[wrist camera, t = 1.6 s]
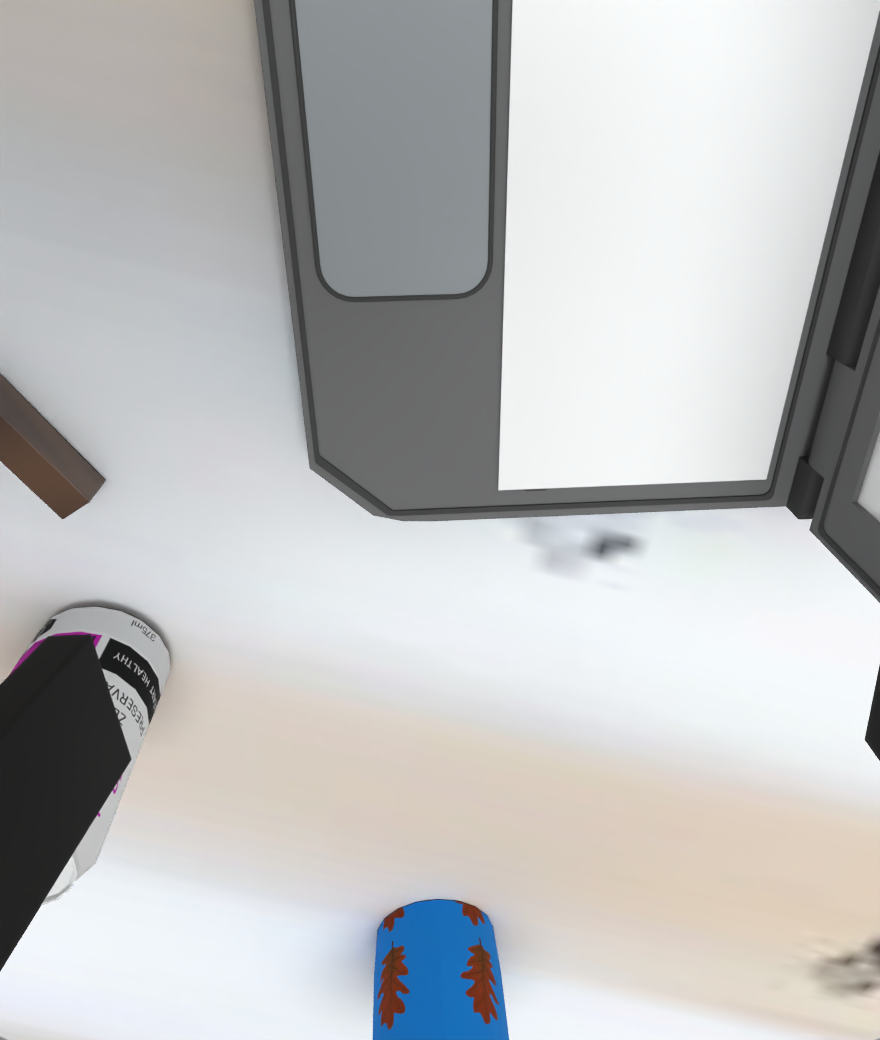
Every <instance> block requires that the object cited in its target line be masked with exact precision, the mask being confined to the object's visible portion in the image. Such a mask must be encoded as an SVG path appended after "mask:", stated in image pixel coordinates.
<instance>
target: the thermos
mask: <svg viewBox="0 0 880 1040" xmlns="http://www.w3.org/2000/svg"><path fill="white" fill-rule="evenodd" d="M373 1040H509V1035H508V1027H507V1019H506V1011H505V1002H504V994H503V986H502V978H501V970H500V964H499V959H498V953H497V947H496V942H495V936H494V930H493V926H492V924H491V922H490V920H489V918H488V916H487V915H486V914H484V913H483V912H482V911H480V910H479V909H478V908H476V907H475V906H471V905H468V904H465V903H462V902H459V901H450V900H430V901H422V902H416V903H413V904H411V905H408V906H405V907H402V908H400V909H398V910H396V911H395V912H393V913H392V914H391V915H389V916H388V917H386V918H385V919H384V921H383V922H382V924H381V925H380V927H379V929H378V932H377V945H376V958H375V972H374V1007H373Z"/></svg>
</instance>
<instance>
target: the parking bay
mask: <svg viewBox="0 0 880 1040" xmlns="http://www.w3.org/2000/svg"><path fill="white" fill-rule="evenodd" d="M0 461H1V462H2V463H3V464H4V465H5V466H6V467H7V468H8V469H10V470H11V471H12V472H13V473H14V474H15V475H16V476H17V477H18V478H19V479H20V480H21V481H22V482H23V483H24V484H25V485H27V486H28V487H29V488H30V489H31V490H32V491H33V492H34V493H35V494H36V495H37V496H38V497H39V498H40V499H41V500H42V501H44V502H45V503H46V504H47V505H48V506H49V507H50V508H51V509H52V510H53V511H54V512H55V513H56V514H57V515H58V516H59V517H61V518H62V519H64V518H66V517H67V516H69V515H70V514H72V513H73V512H75V511H76V510H78V509H80V508H81V507H83V506H84V505H86V504H87V503H89V502H90V501H91V499H92V498H93V497H94V495H95V494H96V493H97V491H98V490H99V489H100V487H101V486H102V485H103V483H104V482H105V479H104V478H103V477H102V476H101V475H100V474H99V473H98V472H97V471H96V470H95V469H94V468H93V467H92V466H91V465H90V464H89V463H88V462H87V461H86V460H85V459H84V458H83V457H82V456H81V455H80V454H79V453H78V452H77V451H76V450H75V449H74V448H73V447H72V446H71V445H70V444H69V443H68V442H67V441H66V440H65V439H64V438H63V437H62V436H61V435H60V434H59V433H58V432H57V431H56V430H55V429H54V428H53V427H52V426H51V425H50V424H49V422H48V421H47V420H46V419H45V418H44V417H43V416H42V415H41V414H40V413H39V412H38V411H37V410H36V409H35V408H34V407H33V406H32V405H31V404H30V403H29V402H28V401H27V400H26V399H25V398H24V397H23V396H22V395H21V394H20V393H19V392H18V391H17V390H16V389H15V388H14V387H13V386H12V385H11V384H10V383H9V382H8V381H7V380H6V379H5V378H4V377H3V376H2V375H1V374H0Z"/></svg>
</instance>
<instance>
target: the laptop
mask: <svg viewBox="0 0 880 1040" xmlns="http://www.w3.org/2000/svg"><path fill="white" fill-rule="evenodd" d="M254 5H255V13H256V22H257V30H258V38H259V47H260V55H261V63H262V72H263V80H264V89H265V97H266V105H267V114H268V122H269V130H270V139H271V147H272V156H273V164H274V172H275V181H276V189H277V197H278V206H279V214H280V223H281V231H282V239H283V248H284V256H285V264H286V273H287V281H288V290H289V298H290V306H291V315H292V323H293V332H294V340H295V348H296V357H297V365H298V373H299V382H300V390H301V399H302V407H303V415H304V424H305V432H306V440H307V449H308V457H309V466H310V469H312V470H313V471H314V472H316V473H317V474H318V475H320V476H321V477H322V478H324V479H325V480H326V481H328V482H329V483H330V484H332V485H333V486H334V487H336V488H337V489H339V490H340V491H341V492H343V493H344V494H345V495H347V496H348V497H349V498H351V499H352V500H353V501H355V502H356V503H357V504H359V505H360V506H362V507H363V508H364V509H366V510H367V511H368V512H370V513H371V514H372V515H374V516H380V517H385V518H390V519H395V520H400V521H448V520H472V519H496V518H519V517H543V516H567V515H590V514H614V513H638V512H661V511H685V510H709V509H732V508H756V507H780V506H786V507H787V508H788V509H789V510H790V511H791V512H792V513H793V514H794V515H795V516H796V517H797V518H798V519H812V523H811V526H810V531H811V532H812V533H813V534H814V535H815V536H816V537H817V538H818V539H819V540H820V541H821V542H822V543H823V545H824V546H825V547H826V548H827V549H828V550H829V551H830V552H831V553H832V554H833V555H834V556H835V557H836V558H837V559H838V560H839V561H840V562H841V563H842V564H843V565H844V566H845V567H846V568H847V569H848V570H849V571H850V572H851V574H852V575H853V576H854V577H855V578H856V579H857V580H858V581H859V582H860V583H861V584H862V585H863V586H864V587H865V588H866V589H867V590H868V591H869V592H870V593H871V594H872V595H873V596H874V597H875V598H876V599H877V600H878V601H879V602H880V0H254Z"/></svg>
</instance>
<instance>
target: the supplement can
mask: <svg viewBox="0 0 880 1040" xmlns="http://www.w3.org/2000/svg"><path fill="white" fill-rule="evenodd" d="M85 634H91V636H92V639H93V642H94V645H95V648H96V651H97V654H98V658H99V661H100V664H101V667H102V670H103V673H104V676H105V679H106V682H107V685H108V688H109V691H110V694H111V697H112V700H113V703H114V707H115V710H116V713H117V716H118V719H119V722H120V725H121V728H122V731H123V734H124V737H125V740H126V743H127V746H128V749H129V752H130V755H131V759H132V760H131V761H130V763H129V765H128V766H127V768H126V769H125V771H124V773H123V774H122V776H121V777H120V779H119V781H118V782H117V784H116V785H115V787H114V789H113V790H112V792H111V794H110V795H109V797H108V798H107V800H106V802H105V803H104V805H103V806H102V808H101V810H100V811H99V813H98V815H97V816H96V818H95V819H94V821H93V823H92V824H91V826H90V827H89V829H88V831H87V832H86V834H85V835H84V837H83V839H82V840H81V842H80V844H79V845H78V847H77V848H76V850H75V852H74V853H73V855H72V856H71V858H70V860H69V861H68V863H67V864H66V866H65V868H64V869H63V871H62V873H61V874H60V876H59V877H58V879H57V881H56V882H55V884H54V885H53V887H52V889H51V890H50V892H49V893H48V895H47V897H46V898H45V900H44V902H43V903H42V905H44V904H47V903H49V902H52V901H55V900H58V899H59V898H60V897H61V896H63V895H64V894H65V893H66V892H68V891H69V890H70V889H71V888H72V886H73V884H74V882H75V881H76V880H77V879H78V878H79V877H81V876H82V875H83V874H84V873H85V872H86V871H87V870H89V869H90V868H91V867H92V866H93V865H94V864H95V863H96V861H97V858H98V856H99V853H100V851H101V848H102V846H103V843H104V841H105V838H106V835H107V833H108V830H109V828H110V825H111V823H112V820H113V817H114V815H115V812H116V810H117V807H118V804H119V802H120V799H121V797H122V794H123V792H124V789H125V786H126V784H127V781H128V779H129V776H130V773H131V771H132V768H133V766H134V763H135V761H136V758H137V755H138V753H139V750H140V748H141V745H142V742H143V740H144V737H145V735H146V732H147V730H148V727H149V724H150V722H151V719H152V717H153V714H154V711H155V709H156V706H157V704H158V701H159V699H160V696H161V693H162V691H163V688H164V686H165V683H166V680H167V678H168V675H169V673H170V670H171V669H170V659H169V652H168V650H167V649H166V647H165V645H164V644H163V642H162V640H161V638H160V637H159V635H157V634H156V633H155V632H154V631H153V630H152V629H150V628H149V627H148V626H147V625H146V624H145V623H144V622H142V621H141V620H140V619H137V618H135V617H133V616H131V615H129V614H127V613H124V612H122V611H118V610H113V609H107V608H102V607H84V608H72V609H69V610H67V611H65V612H62V613H60V614H58V615H55V616H53V617H51V618H50V619H49V620H48V621H47V623H46V624H45V625H44V626H43V627H42V628H41V629H40V630H39V631H38V633H37V634H36V636H35V637H34V639H33V640H32V642H31V643H30V645H29V646H28V648H27V649H26V651H25V652H24V654H23V655H22V657H21V658H20V660H19V661H18V663H17V664H16V666H15V667H14V669H13V670H12V672H13V671H14V670H15V669H16V668H17V667H18V666H19V665H20V664H21V663H22V662H23V661H24V660H25V659H26V658H27V657H28V656H29V655H30V654H31V653H32V652H33V651H34V650H35V649H36V648H37V647H38V646H39V645H40V644H41V643H42V642H43V641H44V640H45V639H46V638H47V637H48V636H61V635H85ZM12 672H11V673H12ZM11 673H10V674H11Z"/></svg>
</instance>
